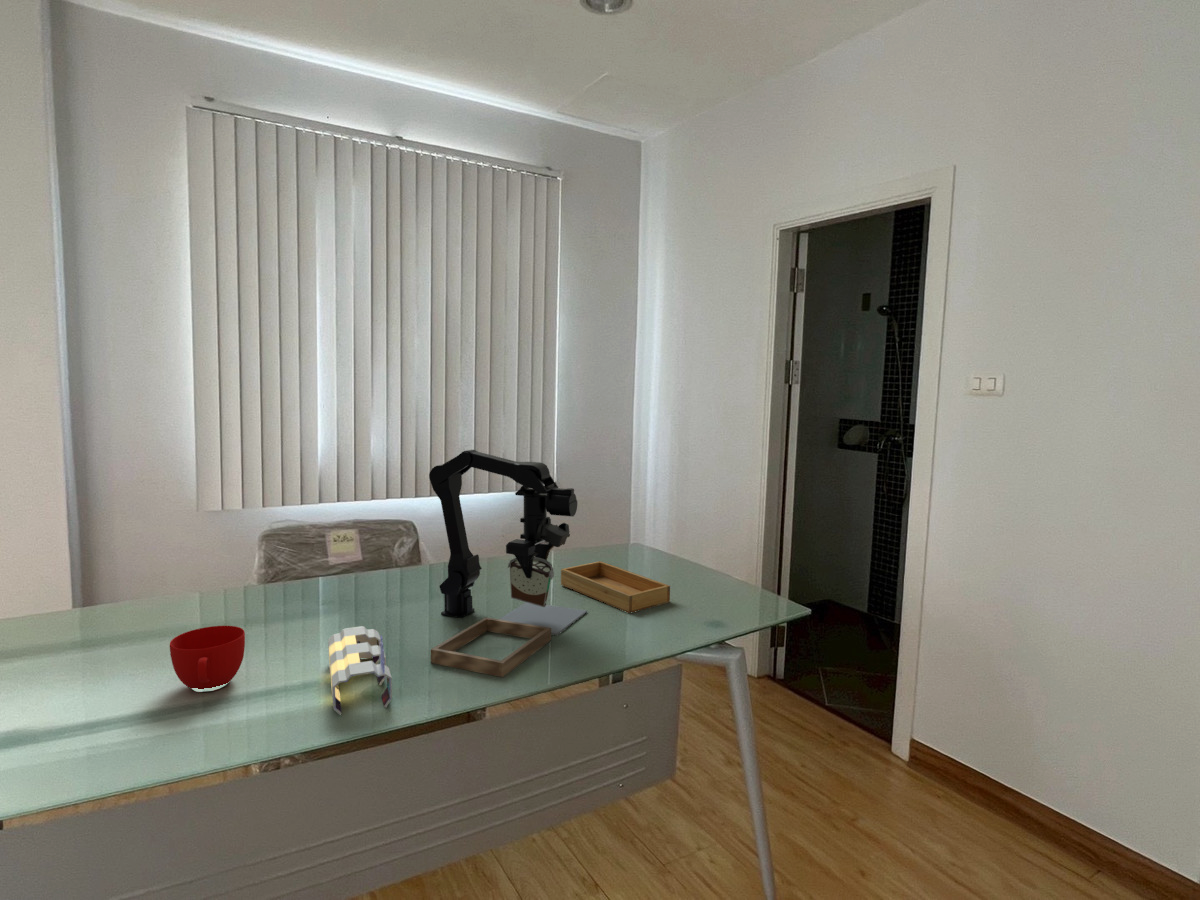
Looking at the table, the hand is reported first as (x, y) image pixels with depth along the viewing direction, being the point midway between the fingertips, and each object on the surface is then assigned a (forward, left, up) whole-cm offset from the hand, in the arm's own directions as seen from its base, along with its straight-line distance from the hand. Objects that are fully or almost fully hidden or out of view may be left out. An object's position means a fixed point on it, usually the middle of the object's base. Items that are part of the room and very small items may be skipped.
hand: (535, 574), depth 171 cm
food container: (-1, +1, -6) cm, 7 cm away
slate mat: (0, +3, -12) cm, 13 cm away
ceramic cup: (-41, -59, -13) cm, 73 cm away
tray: (+9, +30, -13) cm, 34 cm away
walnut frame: (0, -20, -12) cm, 23 cm away
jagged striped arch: (-16, -45, -13) cm, 50 cm away
